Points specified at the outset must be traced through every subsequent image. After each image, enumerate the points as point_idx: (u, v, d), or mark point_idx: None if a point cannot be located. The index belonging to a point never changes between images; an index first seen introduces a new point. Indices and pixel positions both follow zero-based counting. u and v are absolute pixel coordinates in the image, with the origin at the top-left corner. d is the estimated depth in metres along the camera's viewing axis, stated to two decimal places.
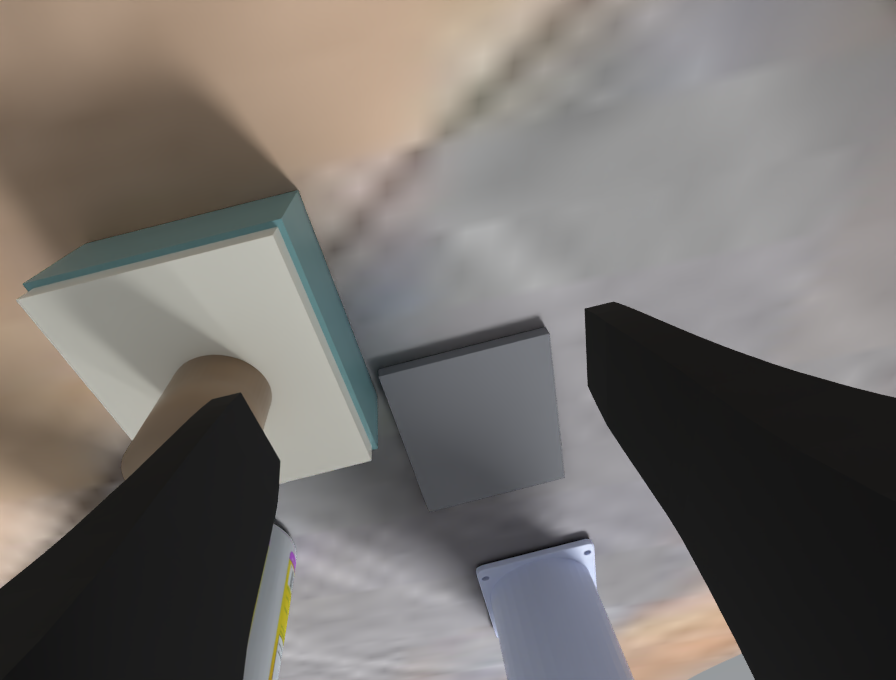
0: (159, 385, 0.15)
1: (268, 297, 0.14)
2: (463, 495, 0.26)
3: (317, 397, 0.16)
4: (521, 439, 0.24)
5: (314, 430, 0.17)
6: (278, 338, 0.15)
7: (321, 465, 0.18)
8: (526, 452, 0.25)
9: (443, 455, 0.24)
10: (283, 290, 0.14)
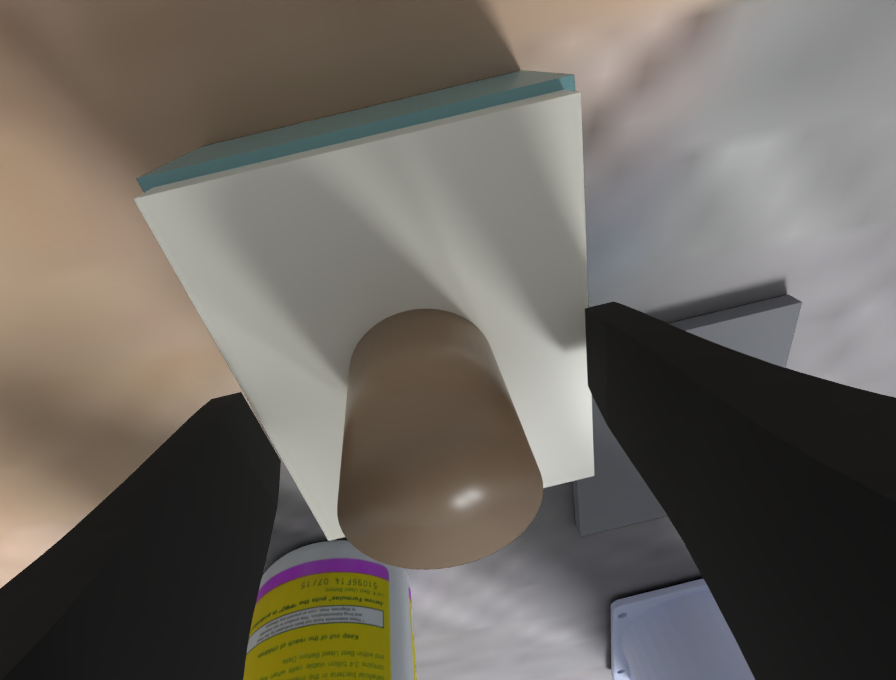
0: (333, 357, 0.10)
1: (537, 210, 0.09)
2: (627, 516, 0.20)
3: (554, 381, 0.11)
4: None
5: (534, 431, 0.12)
6: (530, 283, 0.09)
7: None
8: None
9: (619, 466, 0.18)
10: (564, 199, 0.09)
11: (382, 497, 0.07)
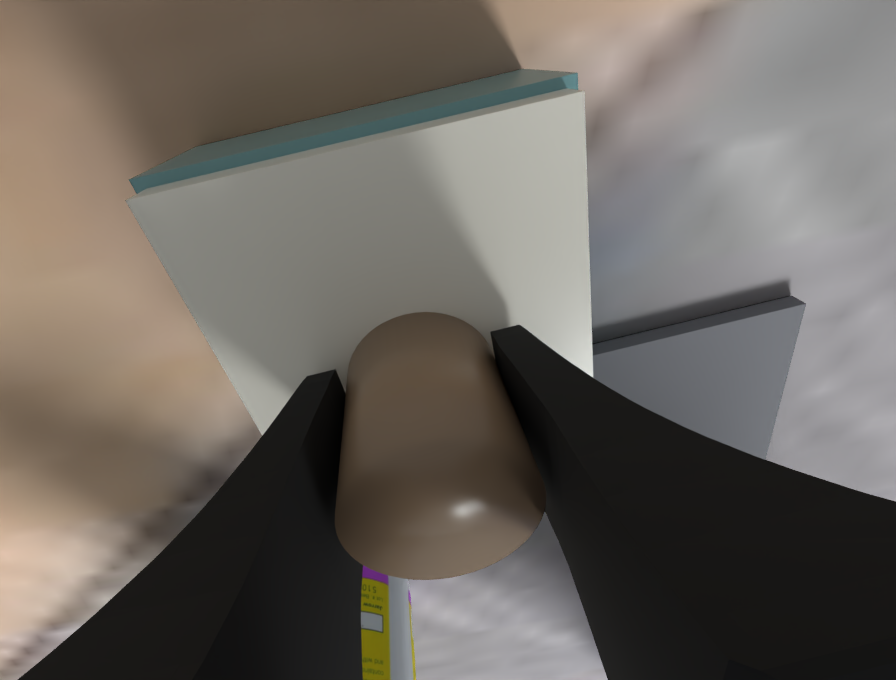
0: (331, 362, 0.09)
1: (539, 212, 0.08)
2: None
3: None
4: None
5: None
6: (532, 286, 0.09)
7: None
8: None
9: None
10: (567, 200, 0.08)
11: (381, 507, 0.07)
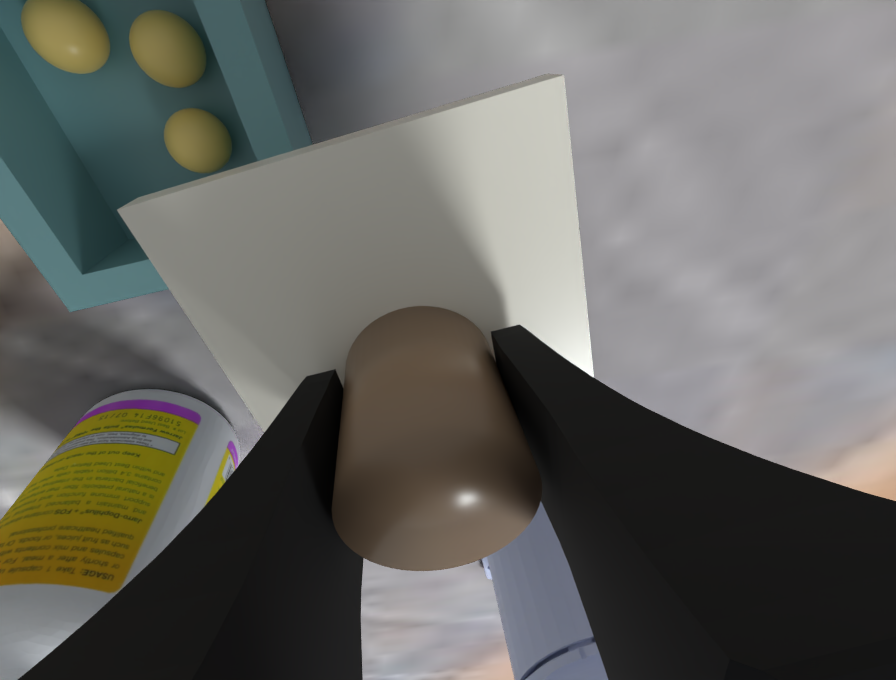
0: (328, 360, 0.10)
1: (527, 200, 0.08)
2: None
3: None
4: None
5: None
6: (524, 275, 0.09)
7: None
8: None
9: None
10: (553, 186, 0.08)
11: (376, 500, 0.07)
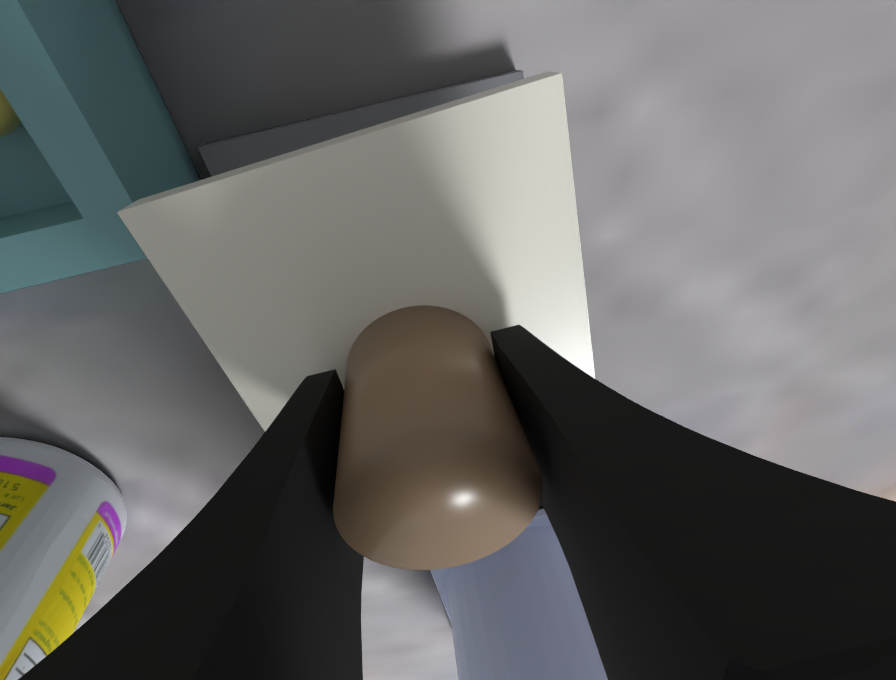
0: (329, 360, 0.10)
1: (526, 199, 0.08)
2: None
3: None
4: None
5: None
6: (524, 274, 0.09)
7: None
8: None
9: None
10: (552, 185, 0.08)
11: (378, 499, 0.07)
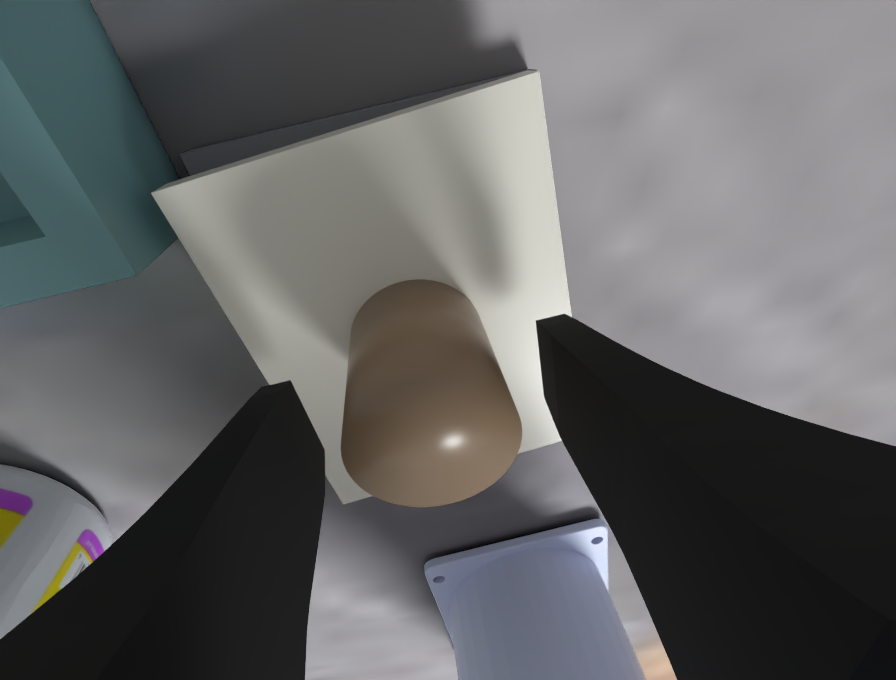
0: (335, 329, 0.11)
1: (510, 182, 0.09)
2: None
3: None
4: None
5: (526, 392, 0.12)
6: (509, 251, 0.10)
7: (522, 442, 0.13)
8: None
9: None
10: (533, 170, 0.09)
11: (379, 438, 0.08)
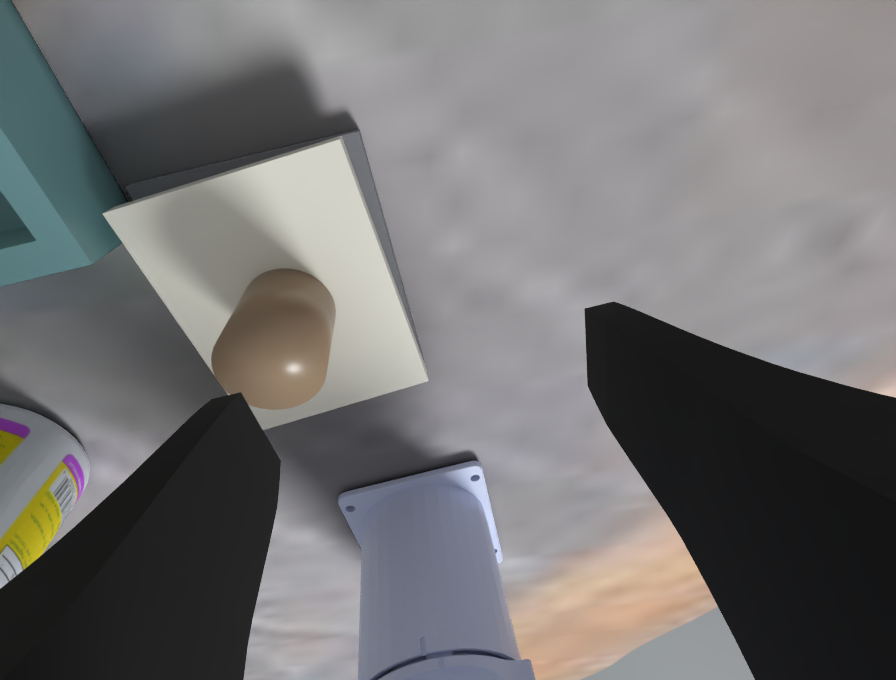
0: (231, 302, 0.16)
1: (334, 206, 0.15)
2: None
3: (378, 313, 0.17)
4: None
5: (375, 349, 0.18)
6: (343, 249, 0.15)
7: (380, 386, 0.19)
8: None
9: None
10: (348, 198, 0.15)
11: (234, 360, 0.13)
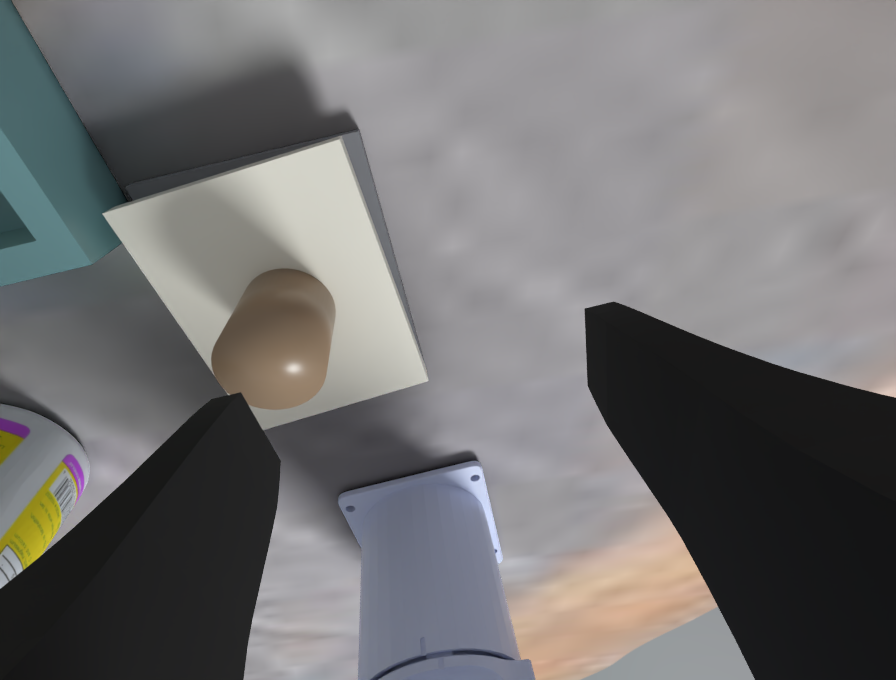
0: (231, 302, 0.16)
1: (334, 206, 0.15)
2: None
3: (378, 313, 0.17)
4: None
5: (375, 349, 0.18)
6: (342, 249, 0.15)
7: (380, 386, 0.19)
8: None
9: None
10: (348, 198, 0.15)
11: (234, 360, 0.13)
